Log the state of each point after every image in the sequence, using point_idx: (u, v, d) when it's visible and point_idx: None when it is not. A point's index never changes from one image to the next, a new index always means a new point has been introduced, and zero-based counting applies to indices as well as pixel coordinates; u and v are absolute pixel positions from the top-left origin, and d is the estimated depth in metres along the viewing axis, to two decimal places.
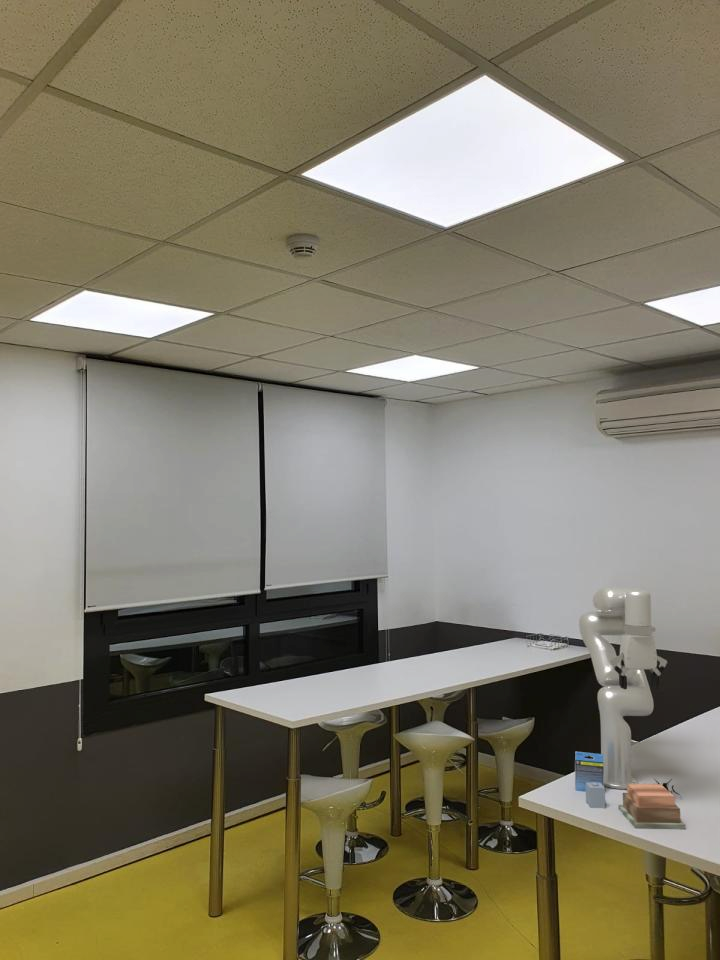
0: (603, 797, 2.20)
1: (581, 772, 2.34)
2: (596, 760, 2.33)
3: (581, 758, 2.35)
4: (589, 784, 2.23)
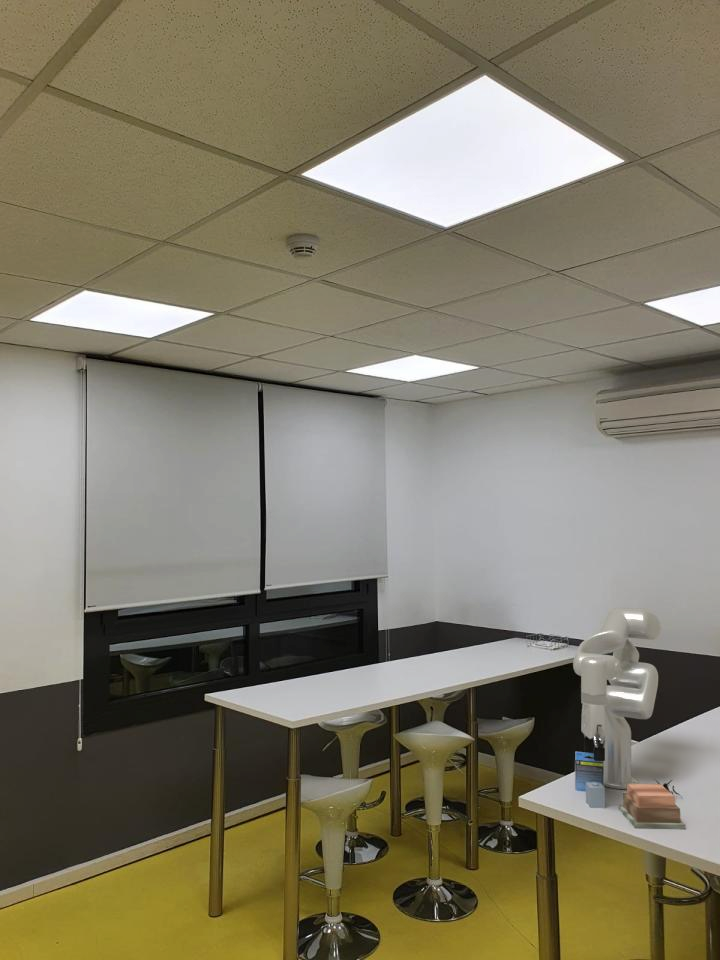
0: (603, 797, 2.20)
1: (580, 772, 2.34)
2: None
3: (581, 758, 2.35)
4: (589, 784, 2.23)
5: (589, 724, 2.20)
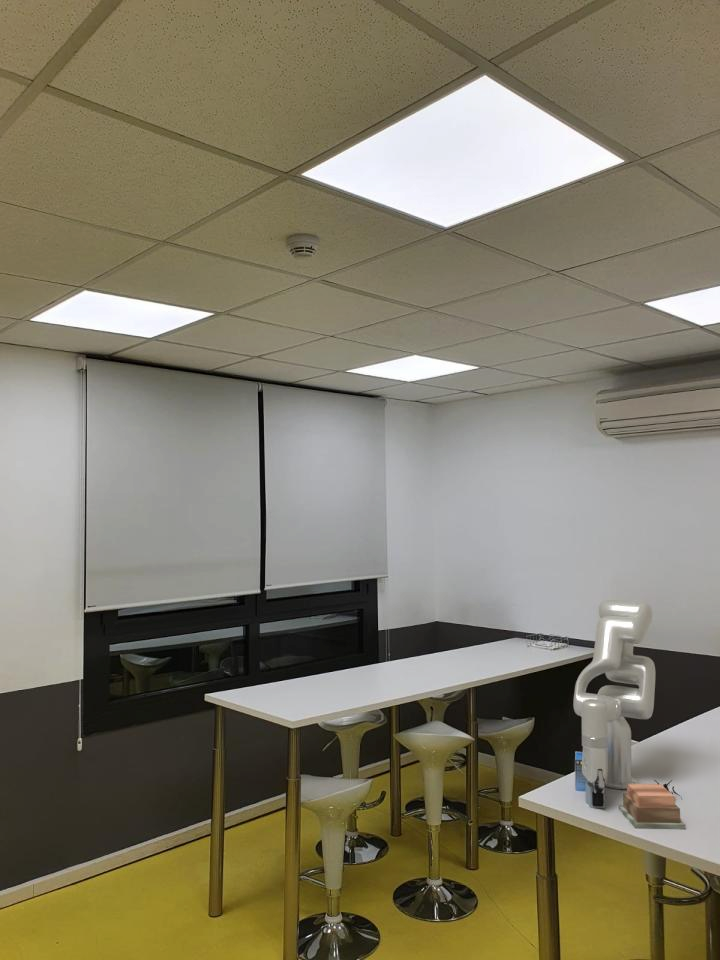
0: (603, 797, 2.20)
1: (581, 772, 2.34)
2: None
3: (581, 758, 2.35)
4: (589, 784, 2.23)
5: (590, 768, 2.19)
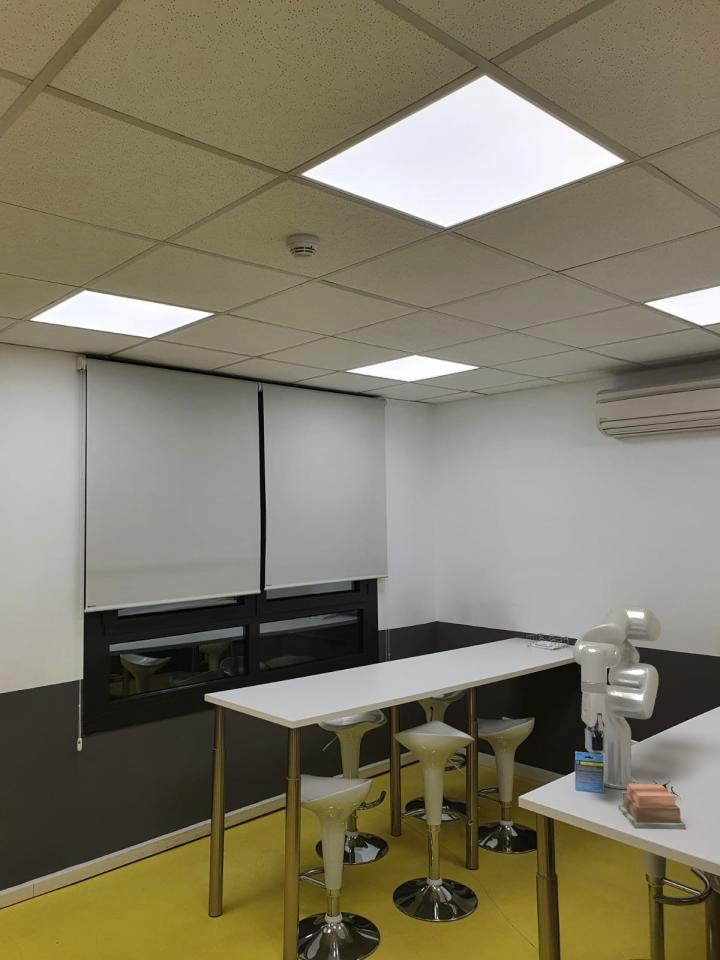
0: None
1: (581, 772, 2.34)
2: (596, 760, 2.33)
3: (581, 758, 2.35)
4: (588, 729, 2.24)
5: (589, 712, 2.20)
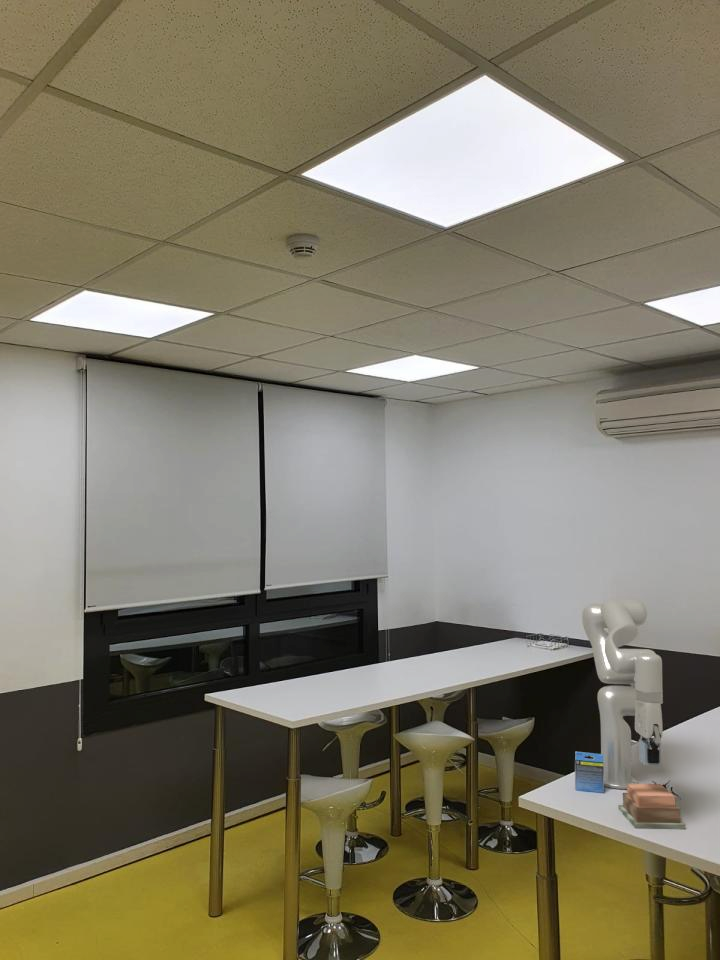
0: None
1: (581, 772, 2.34)
2: (596, 760, 2.33)
3: (581, 758, 2.35)
4: (643, 741, 2.14)
5: (645, 723, 2.10)
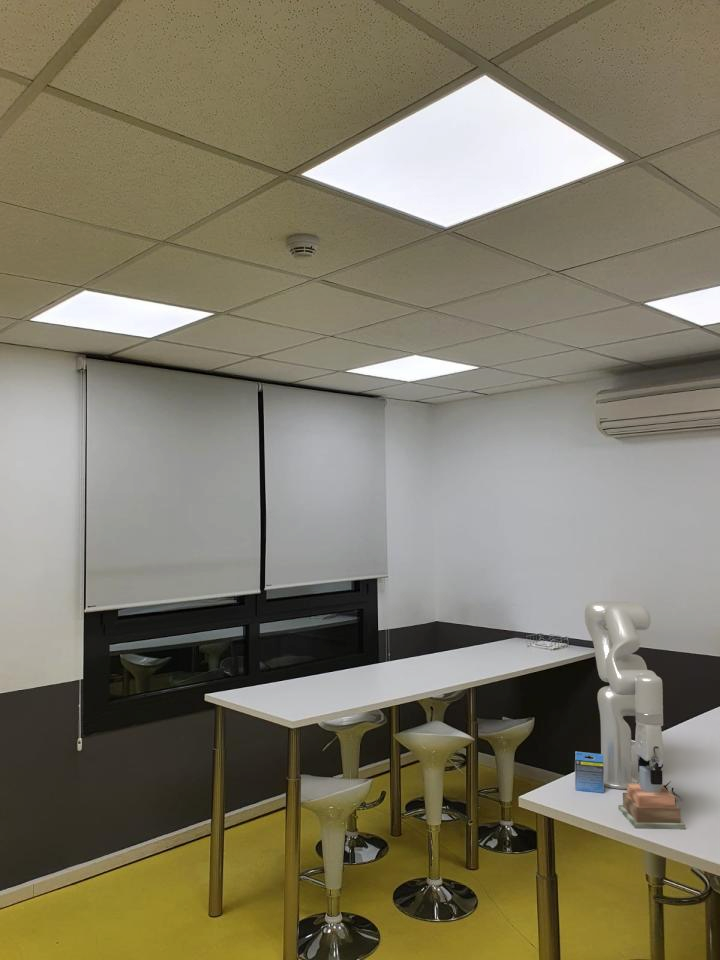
0: None
1: (581, 772, 2.34)
2: (596, 760, 2.33)
3: (581, 758, 2.35)
4: (643, 768, 2.13)
5: (645, 746, 2.09)
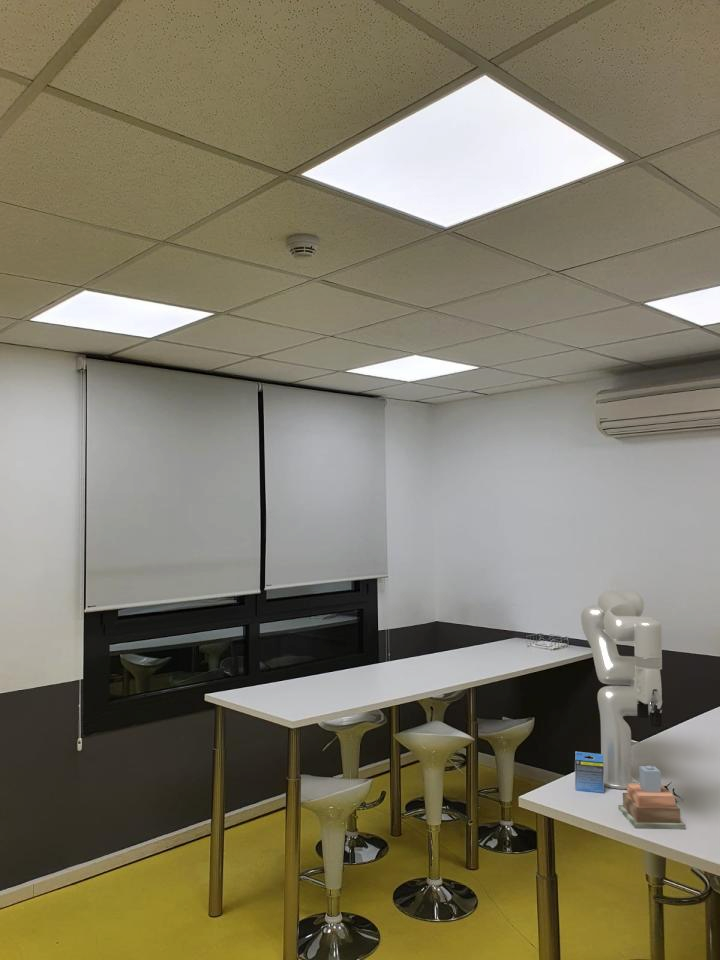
0: (659, 781, 2.10)
1: (581, 772, 2.34)
2: (596, 760, 2.33)
3: (581, 758, 2.35)
4: (643, 768, 2.13)
5: (644, 689, 2.11)
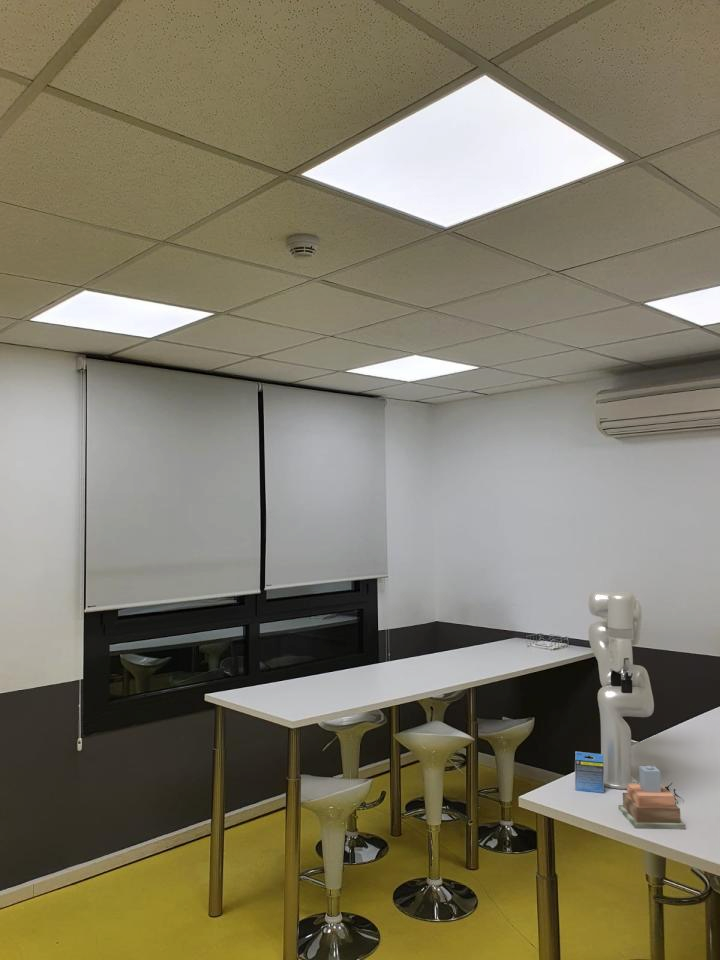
0: (659, 781, 2.10)
1: (581, 772, 2.34)
2: (596, 760, 2.33)
3: (581, 758, 2.35)
4: (643, 768, 2.13)
5: (616, 658, 2.23)
